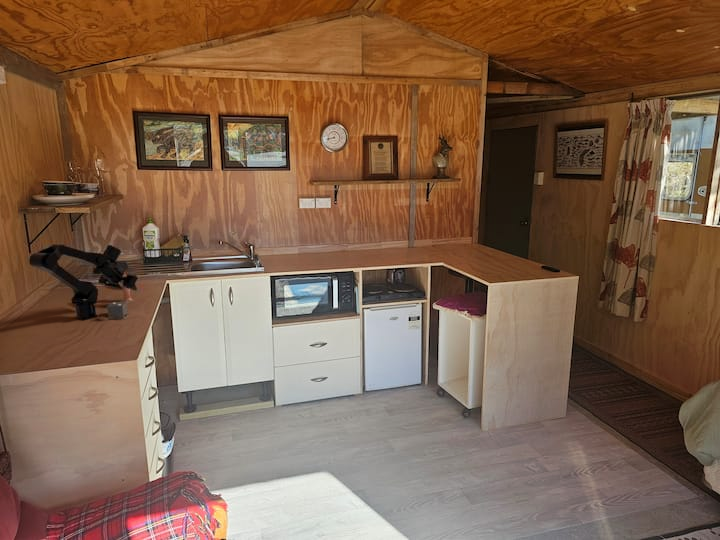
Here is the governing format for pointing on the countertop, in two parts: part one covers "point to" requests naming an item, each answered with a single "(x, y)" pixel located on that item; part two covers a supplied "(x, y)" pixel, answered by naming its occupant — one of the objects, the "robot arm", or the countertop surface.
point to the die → (117, 310)
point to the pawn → (126, 294)
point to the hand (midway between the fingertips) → (128, 289)
